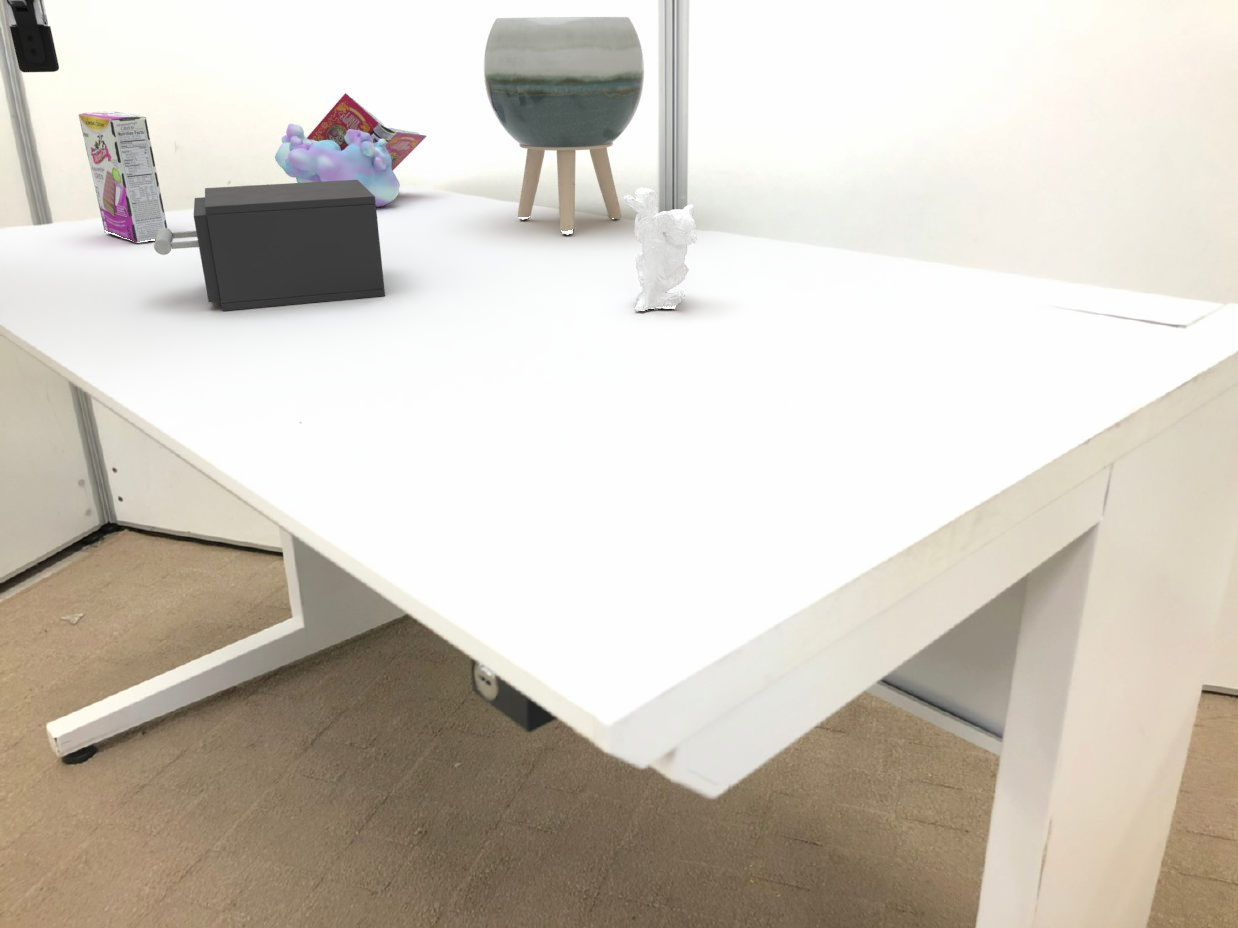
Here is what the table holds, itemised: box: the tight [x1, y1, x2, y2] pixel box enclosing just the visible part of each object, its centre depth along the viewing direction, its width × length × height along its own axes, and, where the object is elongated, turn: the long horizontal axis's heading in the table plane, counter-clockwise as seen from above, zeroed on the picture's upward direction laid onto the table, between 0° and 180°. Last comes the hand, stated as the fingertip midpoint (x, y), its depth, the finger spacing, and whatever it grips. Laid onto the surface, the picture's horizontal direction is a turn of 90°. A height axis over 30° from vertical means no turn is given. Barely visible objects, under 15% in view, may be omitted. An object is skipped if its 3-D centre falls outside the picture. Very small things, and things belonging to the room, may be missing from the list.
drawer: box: [153, 196, 221, 303], centre depth 108 cm, size 20×12×9 cm, turn 111°
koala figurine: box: [622, 186, 698, 312], centre depth 101 cm, size 8×7×12 cm
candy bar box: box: [78, 110, 168, 243], centre depth 137 cm, size 11×5×16 cm, turn 46°
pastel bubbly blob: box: [274, 92, 427, 208], centre depth 163 cm, size 20×22×18 cm
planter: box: [483, 16, 645, 231], centre depth 141 cm, size 22×22×28 cm
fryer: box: [204, 180, 386, 312], centre depth 109 cm, size 17×14×11 cm
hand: (40, 71), depth 96 cm, fingers closed
